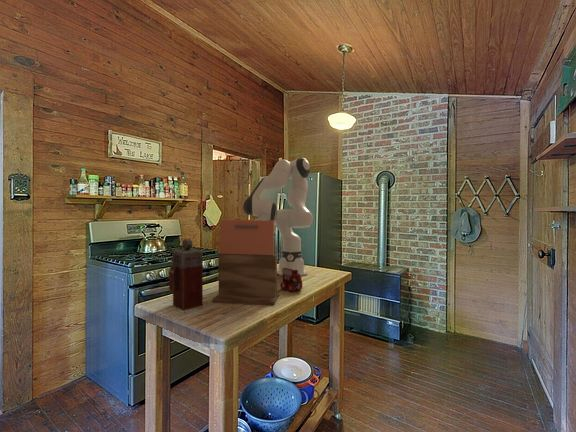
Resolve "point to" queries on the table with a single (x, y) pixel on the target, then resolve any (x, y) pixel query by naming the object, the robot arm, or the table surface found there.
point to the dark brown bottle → (186, 277)
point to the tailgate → (247, 237)
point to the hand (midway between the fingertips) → (253, 228)
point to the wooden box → (247, 279)
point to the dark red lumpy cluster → (291, 280)
